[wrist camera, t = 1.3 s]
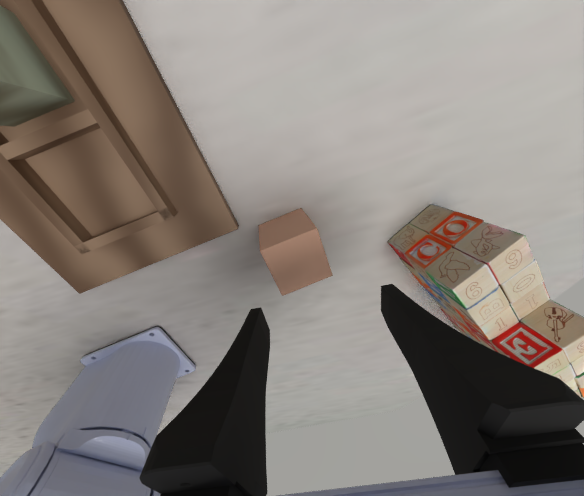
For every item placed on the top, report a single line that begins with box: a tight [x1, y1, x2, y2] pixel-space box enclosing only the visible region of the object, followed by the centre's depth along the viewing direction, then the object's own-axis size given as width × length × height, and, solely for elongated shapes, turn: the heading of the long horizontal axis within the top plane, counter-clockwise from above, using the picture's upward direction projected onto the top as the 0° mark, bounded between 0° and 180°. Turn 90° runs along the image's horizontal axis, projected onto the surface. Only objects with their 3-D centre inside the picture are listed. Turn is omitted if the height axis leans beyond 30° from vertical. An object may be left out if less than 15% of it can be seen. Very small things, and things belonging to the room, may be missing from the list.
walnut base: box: [0, 0, 239, 294], centre depth 13 cm, size 16×22×7 cm
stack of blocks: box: [388, 204, 584, 398], centre depth 23 cm, size 21×6×12 cm, turn 44°
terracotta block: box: [259, 208, 333, 296], centre depth 19 cm, size 4×4×6 cm
